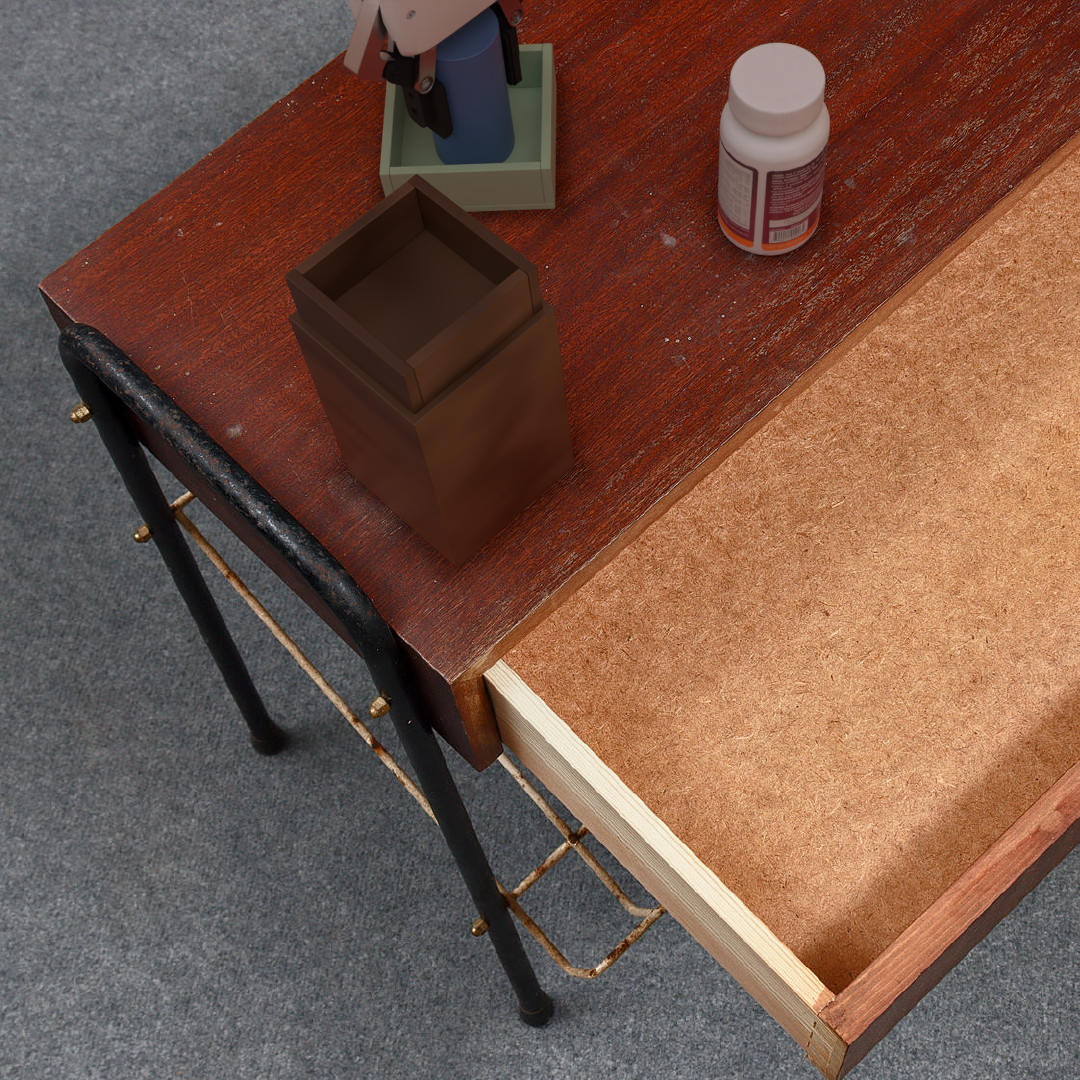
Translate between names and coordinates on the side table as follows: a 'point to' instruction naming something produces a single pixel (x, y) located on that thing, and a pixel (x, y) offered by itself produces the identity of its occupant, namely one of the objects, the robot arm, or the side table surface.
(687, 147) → the side table surface
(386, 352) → the stand
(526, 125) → the bin
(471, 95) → the vial
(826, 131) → the pill bottle
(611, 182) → the side table surface
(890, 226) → the side table surface
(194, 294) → the side table surface
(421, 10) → the robot arm
